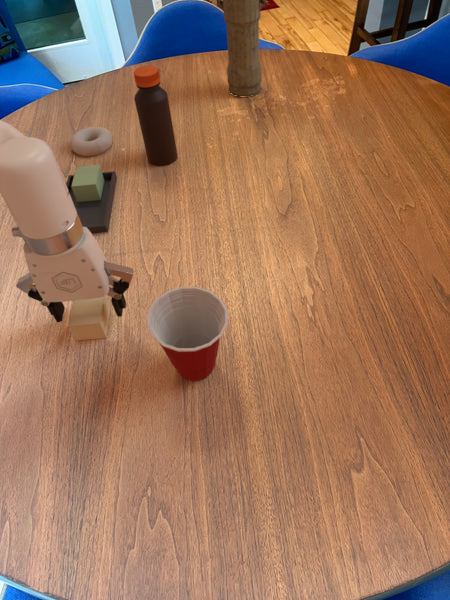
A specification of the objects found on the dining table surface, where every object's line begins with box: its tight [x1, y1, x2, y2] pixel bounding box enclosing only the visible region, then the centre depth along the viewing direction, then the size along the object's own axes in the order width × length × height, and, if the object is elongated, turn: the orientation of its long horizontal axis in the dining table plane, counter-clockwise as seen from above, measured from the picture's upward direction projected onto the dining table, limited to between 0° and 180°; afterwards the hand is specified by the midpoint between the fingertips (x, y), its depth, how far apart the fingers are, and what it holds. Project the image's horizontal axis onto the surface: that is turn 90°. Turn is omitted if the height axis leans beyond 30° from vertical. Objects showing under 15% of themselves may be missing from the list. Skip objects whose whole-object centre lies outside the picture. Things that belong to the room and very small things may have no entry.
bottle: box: [133, 65, 178, 167], centre depth 101 cm, size 7×7×20 cm
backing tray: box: [65, 170, 118, 234], centre depth 98 cm, size 10×18×2 cm, turn 3°
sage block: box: [71, 164, 104, 202], centre depth 100 cm, size 5×7×4 cm
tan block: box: [67, 295, 112, 341], centre depth 77 cm, size 5×7×4 cm
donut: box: [69, 125, 114, 157], centre depth 113 cm, size 10×3×10 cm
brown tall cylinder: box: [216, 0, 267, 97], centre depth 115 cm, size 9×12×35 cm
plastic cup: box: [146, 286, 229, 382], centre depth 67 cm, size 11×11×12 cm
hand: (90, 312), depth 77 cm, fingers open, 9 cm apart
